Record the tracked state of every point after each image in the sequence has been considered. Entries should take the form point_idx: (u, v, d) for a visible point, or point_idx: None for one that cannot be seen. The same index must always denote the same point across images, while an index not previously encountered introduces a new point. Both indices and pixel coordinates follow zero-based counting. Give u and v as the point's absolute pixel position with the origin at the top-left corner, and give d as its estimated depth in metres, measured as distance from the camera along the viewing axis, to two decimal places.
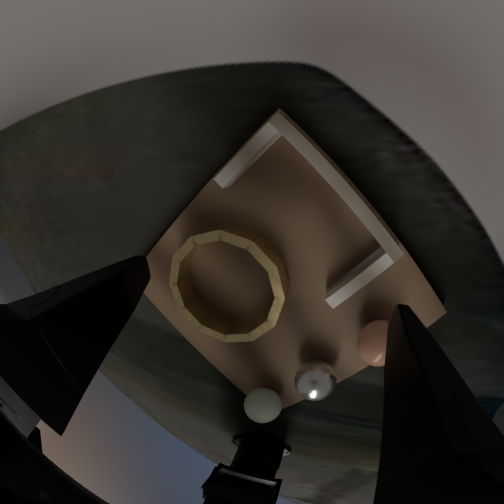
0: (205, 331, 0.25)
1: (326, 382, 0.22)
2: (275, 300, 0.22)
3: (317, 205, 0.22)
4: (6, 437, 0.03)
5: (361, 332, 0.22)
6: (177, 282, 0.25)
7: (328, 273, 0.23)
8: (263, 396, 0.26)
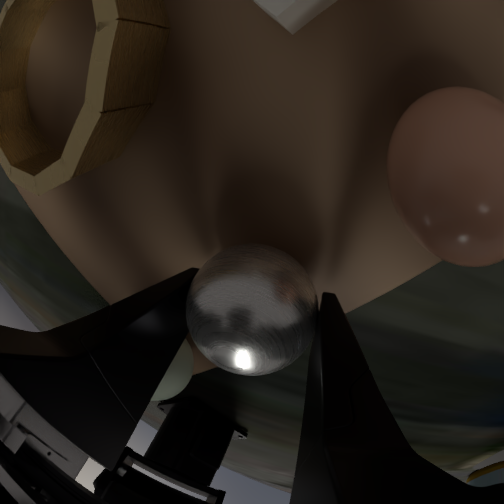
0: (15, 178, 0.09)
1: (275, 320, 0.07)
2: (98, 32, 0.05)
3: None
4: (71, 498, 0.03)
5: (402, 117, 0.05)
6: None
7: None
8: None
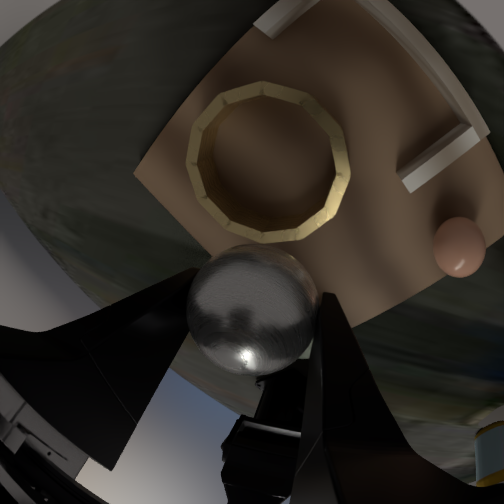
0: (234, 229, 0.19)
1: (276, 320, 0.07)
2: (337, 177, 0.15)
3: (384, 65, 0.13)
4: (71, 499, 0.03)
5: (441, 230, 0.15)
6: (197, 161, 0.18)
7: (399, 151, 0.16)
8: None
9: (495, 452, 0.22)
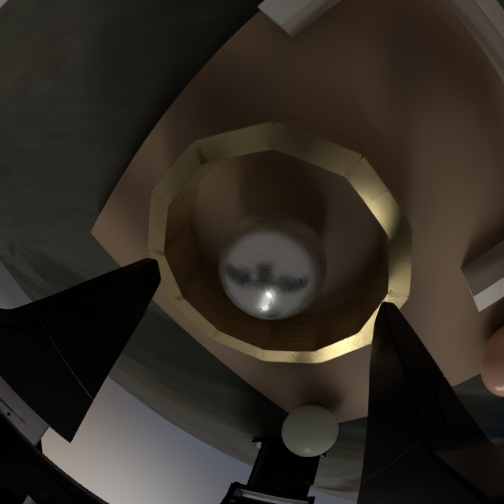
0: (224, 341, 0.13)
1: (295, 263, 0.09)
2: (388, 297, 0.09)
3: (474, 104, 0.07)
4: (16, 449, 0.03)
5: (498, 346, 0.09)
6: (165, 248, 0.11)
7: (471, 240, 0.09)
8: (315, 425, 0.15)
9: None
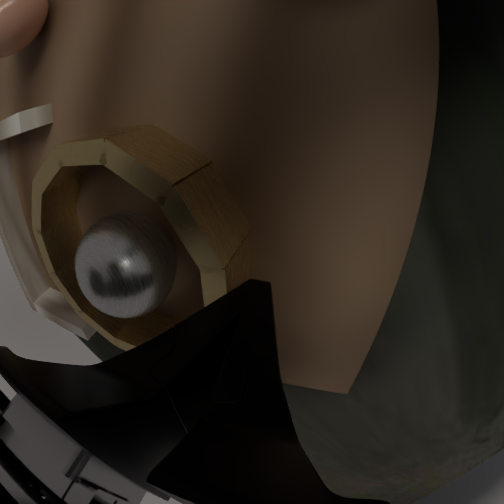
0: (206, 253, 0.08)
1: None
2: (41, 189, 0.09)
3: None
4: None
5: (14, 48, 0.06)
6: None
7: (45, 143, 0.11)
8: None
9: None
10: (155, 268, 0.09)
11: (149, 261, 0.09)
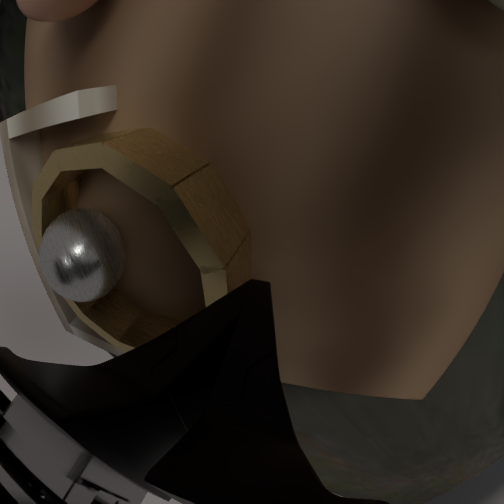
0: (206, 254, 0.08)
1: (116, 258, 0.10)
2: (41, 195, 0.09)
3: None
4: None
5: (71, 9, 0.05)
6: None
7: None
8: None
9: None
10: None
11: None
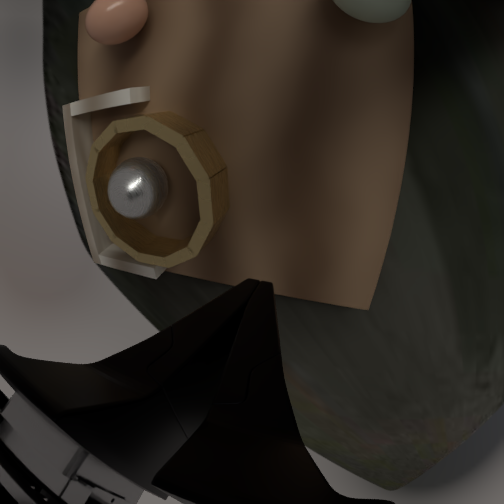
0: (199, 171, 0.14)
1: None
2: (98, 149, 0.16)
3: None
4: None
5: (123, 39, 0.12)
6: (186, 246, 0.18)
7: None
8: (338, 1, 0.08)
9: None
10: None
11: None
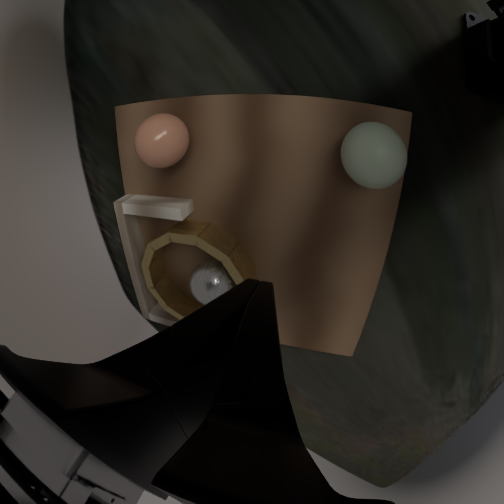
0: (239, 279, 0.22)
1: None
2: (154, 248, 0.23)
3: None
4: None
5: (170, 165, 0.19)
6: None
7: None
8: (348, 173, 0.15)
9: None
10: (194, 286, 0.22)
11: (194, 282, 0.22)
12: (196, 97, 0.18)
